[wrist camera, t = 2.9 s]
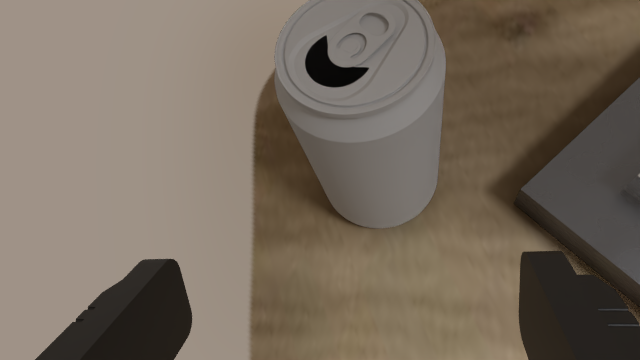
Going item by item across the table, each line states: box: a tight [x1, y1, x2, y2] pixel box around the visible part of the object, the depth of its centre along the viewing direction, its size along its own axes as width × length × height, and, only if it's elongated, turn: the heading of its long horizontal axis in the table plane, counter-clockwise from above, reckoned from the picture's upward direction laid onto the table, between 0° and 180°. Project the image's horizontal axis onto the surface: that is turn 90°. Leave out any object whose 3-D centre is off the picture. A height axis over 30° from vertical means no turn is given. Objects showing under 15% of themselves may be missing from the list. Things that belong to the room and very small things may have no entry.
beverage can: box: [274, 0, 446, 228], centre depth 21 cm, size 6×6×12 cm
